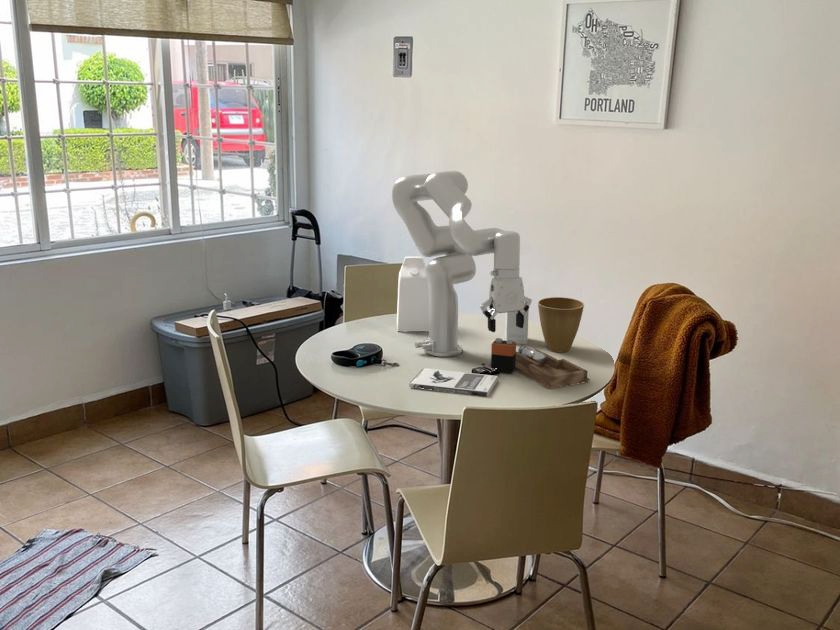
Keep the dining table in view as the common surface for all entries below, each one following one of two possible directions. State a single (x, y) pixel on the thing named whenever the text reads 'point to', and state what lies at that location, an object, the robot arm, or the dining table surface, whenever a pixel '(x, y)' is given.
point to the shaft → (532, 354)
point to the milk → (413, 296)
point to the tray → (551, 371)
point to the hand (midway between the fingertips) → (505, 329)
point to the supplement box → (516, 328)
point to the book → (454, 382)
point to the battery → (503, 355)
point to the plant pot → (560, 321)
